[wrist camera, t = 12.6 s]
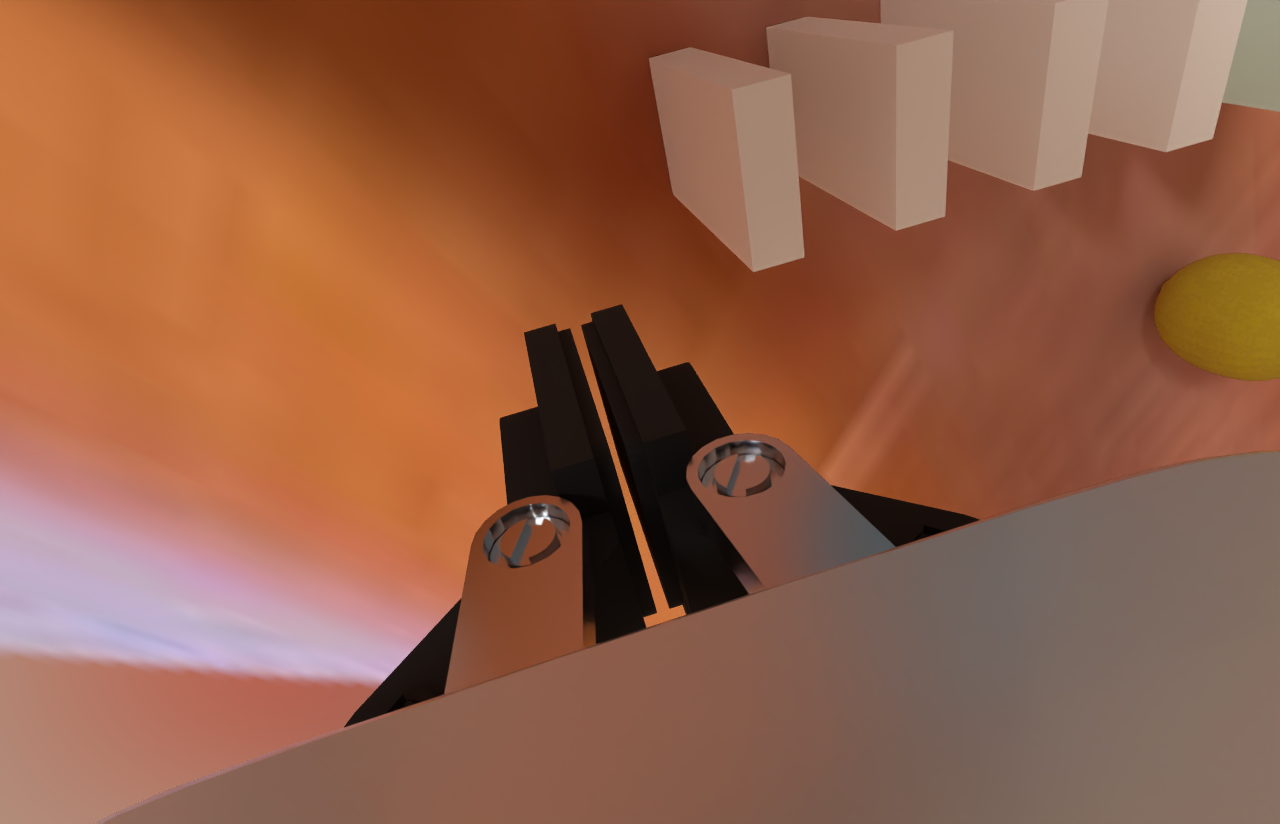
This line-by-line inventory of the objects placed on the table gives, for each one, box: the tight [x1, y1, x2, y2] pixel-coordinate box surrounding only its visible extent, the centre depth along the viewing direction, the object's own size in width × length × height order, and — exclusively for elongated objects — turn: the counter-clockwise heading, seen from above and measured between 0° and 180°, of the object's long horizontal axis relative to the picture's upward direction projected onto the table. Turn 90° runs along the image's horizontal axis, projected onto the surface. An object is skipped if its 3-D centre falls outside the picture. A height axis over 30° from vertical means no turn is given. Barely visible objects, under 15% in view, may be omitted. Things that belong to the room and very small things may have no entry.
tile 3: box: [880, 0, 1109, 191], centre depth 23 cm, size 2×5×9 cm, turn 12°
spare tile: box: [1222, 0, 1280, 112], centre depth 24 cm, size 2×5×9 cm, turn 13°
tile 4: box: [1088, 0, 1248, 152], centre depth 24 cm, size 2×5×9 cm, turn 12°
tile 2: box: [766, 17, 954, 231], centre depth 23 cm, size 2×5×9 cm, turn 12°
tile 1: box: [649, 47, 805, 272], centre depth 23 cm, size 2×5×9 cm, turn 12°
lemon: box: [1154, 253, 1280, 381], centre depth 33 cm, size 6×6×8 cm
